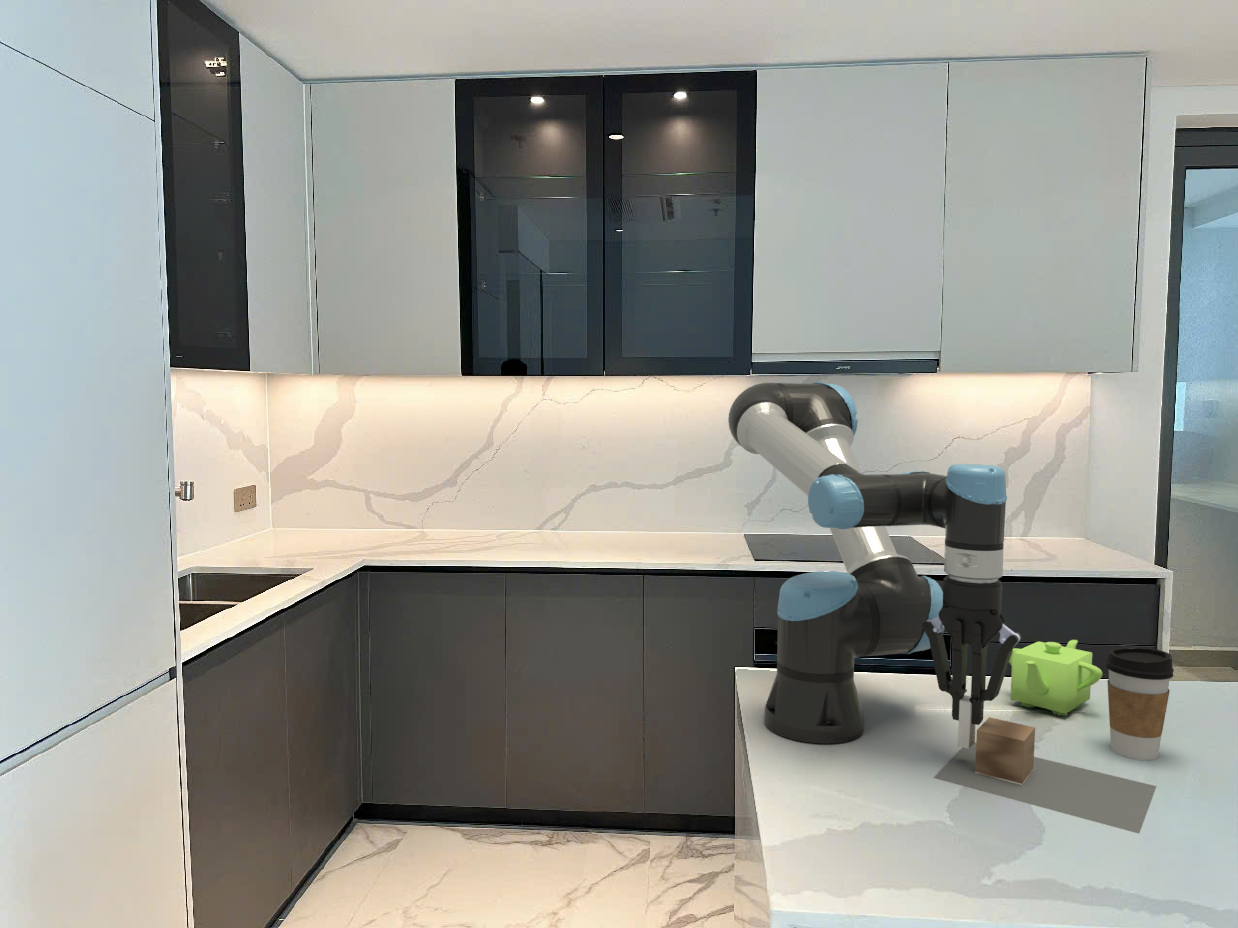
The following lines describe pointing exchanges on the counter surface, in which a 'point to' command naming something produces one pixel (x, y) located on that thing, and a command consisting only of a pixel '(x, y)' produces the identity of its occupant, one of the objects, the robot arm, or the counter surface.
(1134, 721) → the coffee cup
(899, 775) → the counter surface
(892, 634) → the robot arm
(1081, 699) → the teapot
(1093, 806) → the rubber mat
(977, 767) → the walnut cube
